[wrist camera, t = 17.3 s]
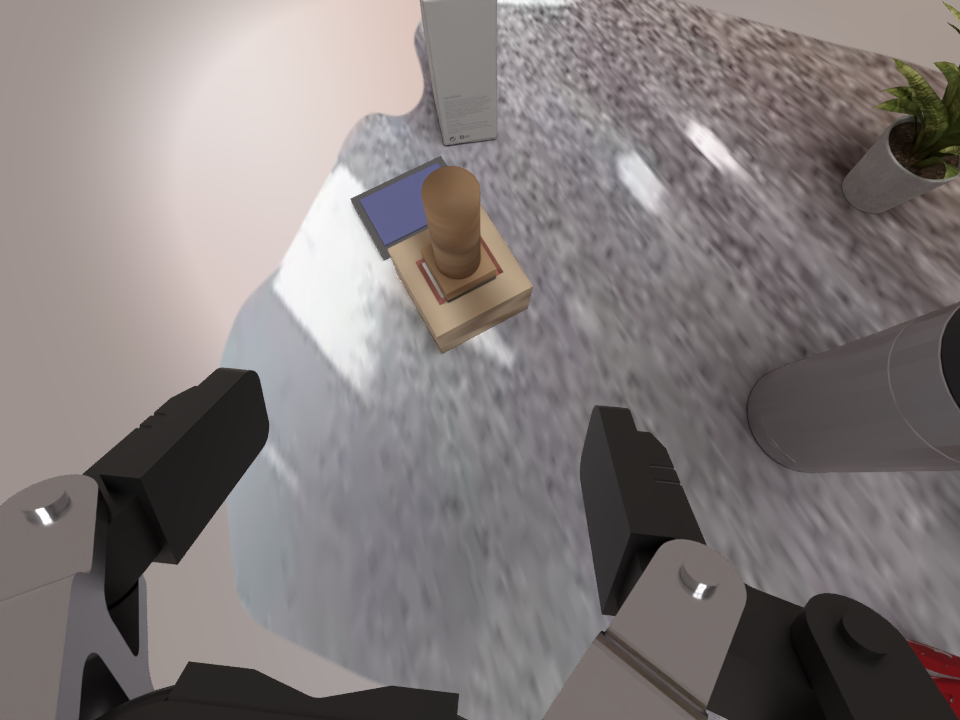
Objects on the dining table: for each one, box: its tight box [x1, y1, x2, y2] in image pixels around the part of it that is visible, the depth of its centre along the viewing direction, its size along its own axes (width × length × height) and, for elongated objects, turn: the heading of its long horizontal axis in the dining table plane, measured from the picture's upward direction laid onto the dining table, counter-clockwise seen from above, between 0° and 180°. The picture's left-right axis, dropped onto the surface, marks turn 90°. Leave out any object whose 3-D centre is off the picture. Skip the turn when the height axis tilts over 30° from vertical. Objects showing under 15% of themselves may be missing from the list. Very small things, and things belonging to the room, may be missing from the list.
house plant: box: [842, 2, 960, 214], centre depth 37 cm, size 14×14×16 cm
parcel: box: [388, 204, 533, 354], centre depth 40 cm, size 9×9×5 cm
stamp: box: [420, 166, 497, 303], centre depth 32 cm, size 4×4×10 cm
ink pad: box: [351, 156, 447, 260], centre depth 44 cm, size 10×7×1 cm
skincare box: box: [420, 0, 497, 145], centre depth 41 cm, size 8×6×15 cm
